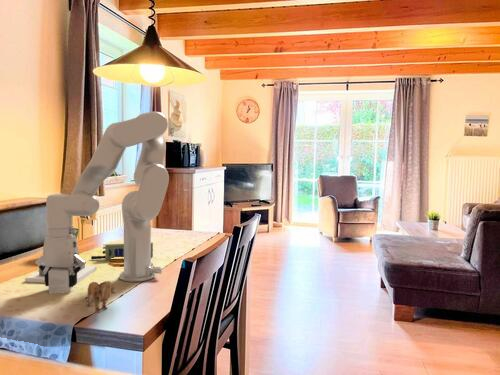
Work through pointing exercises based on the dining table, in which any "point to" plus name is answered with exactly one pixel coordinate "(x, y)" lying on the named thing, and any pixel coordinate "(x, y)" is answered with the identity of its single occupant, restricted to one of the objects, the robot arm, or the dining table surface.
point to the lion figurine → (100, 293)
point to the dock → (81, 274)
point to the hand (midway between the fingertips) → (61, 285)
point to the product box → (59, 280)
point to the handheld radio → (115, 251)
